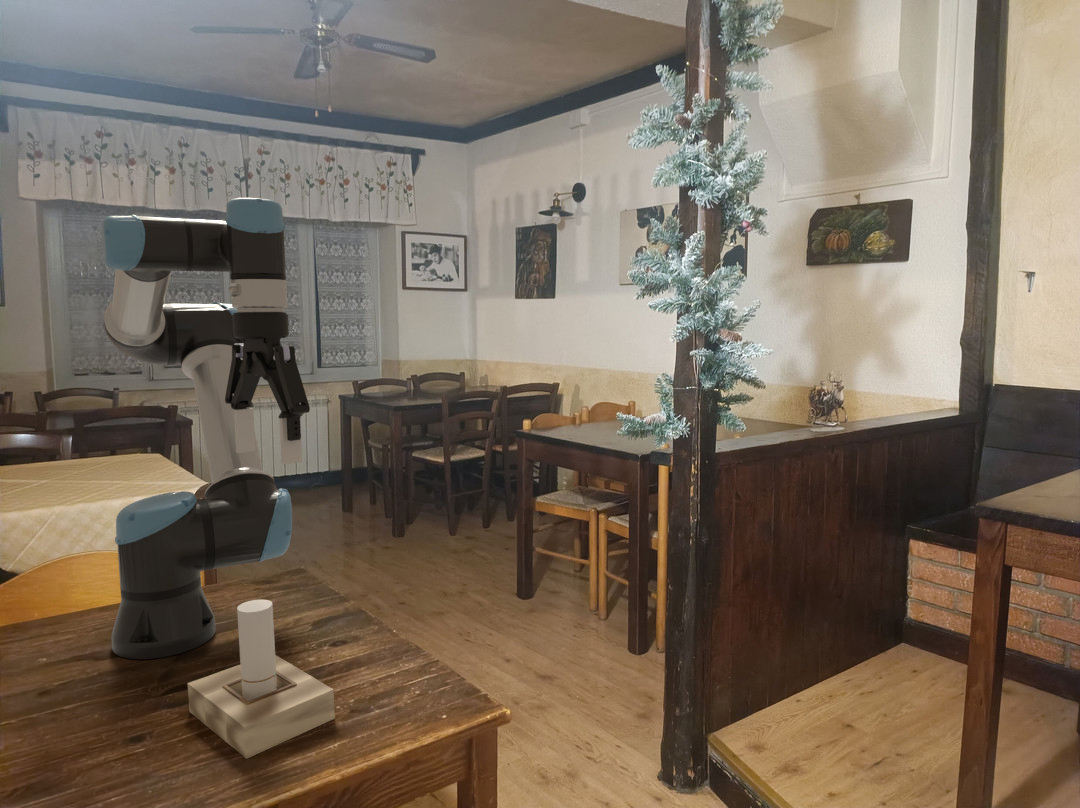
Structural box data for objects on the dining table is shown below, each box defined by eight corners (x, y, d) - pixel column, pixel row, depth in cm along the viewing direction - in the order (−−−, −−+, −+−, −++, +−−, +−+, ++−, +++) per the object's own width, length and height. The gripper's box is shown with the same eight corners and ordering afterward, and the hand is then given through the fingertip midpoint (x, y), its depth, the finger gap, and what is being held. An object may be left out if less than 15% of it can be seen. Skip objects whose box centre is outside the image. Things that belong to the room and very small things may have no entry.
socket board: (189, 711, 101) (187, 681, 100) (273, 679, 110) (272, 651, 109) (246, 758, 90) (244, 725, 89) (334, 718, 99) (333, 687, 98)
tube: (266, 725, 97) (260, 613, 95) (236, 721, 98) (230, 611, 96) (284, 708, 102) (278, 600, 100) (255, 704, 102) (249, 598, 101)
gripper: (195, 311, 114) (204, 450, 116) (279, 310, 97) (287, 472, 99) (244, 311, 119) (251, 444, 122) (331, 309, 102) (337, 464, 105)
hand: (267, 457), depth 111 cm, fingers open, 13 cm apart
